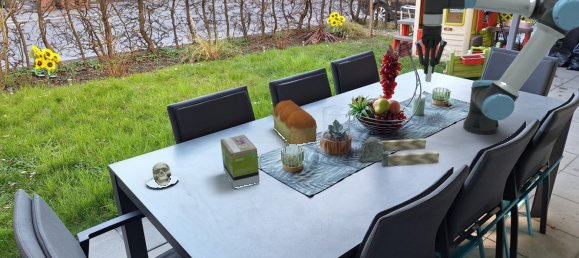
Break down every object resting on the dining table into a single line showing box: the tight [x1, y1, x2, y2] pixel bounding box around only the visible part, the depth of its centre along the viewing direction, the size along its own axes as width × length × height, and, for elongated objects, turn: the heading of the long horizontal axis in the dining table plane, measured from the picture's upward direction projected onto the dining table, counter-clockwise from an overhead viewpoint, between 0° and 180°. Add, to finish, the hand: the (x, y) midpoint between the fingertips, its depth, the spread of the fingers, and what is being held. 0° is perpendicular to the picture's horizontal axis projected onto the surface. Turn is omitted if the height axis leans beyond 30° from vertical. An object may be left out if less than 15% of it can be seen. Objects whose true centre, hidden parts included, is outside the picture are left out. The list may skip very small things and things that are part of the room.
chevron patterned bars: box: [377, 138, 440, 167], centre depth 172 cm, size 22×16×5 cm
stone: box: [358, 136, 386, 163], centre depth 171 cm, size 10×10×10 cm
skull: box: [152, 162, 172, 186], centre depth 159 cm, size 12×10×10 cm
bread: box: [272, 99, 318, 145], centre depth 196 cm, size 25×12×15 cm, turn 20°
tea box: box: [220, 134, 261, 188], centre depth 157 cm, size 15×10×15 cm
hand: (427, 81), depth 180 cm, fingers closed
